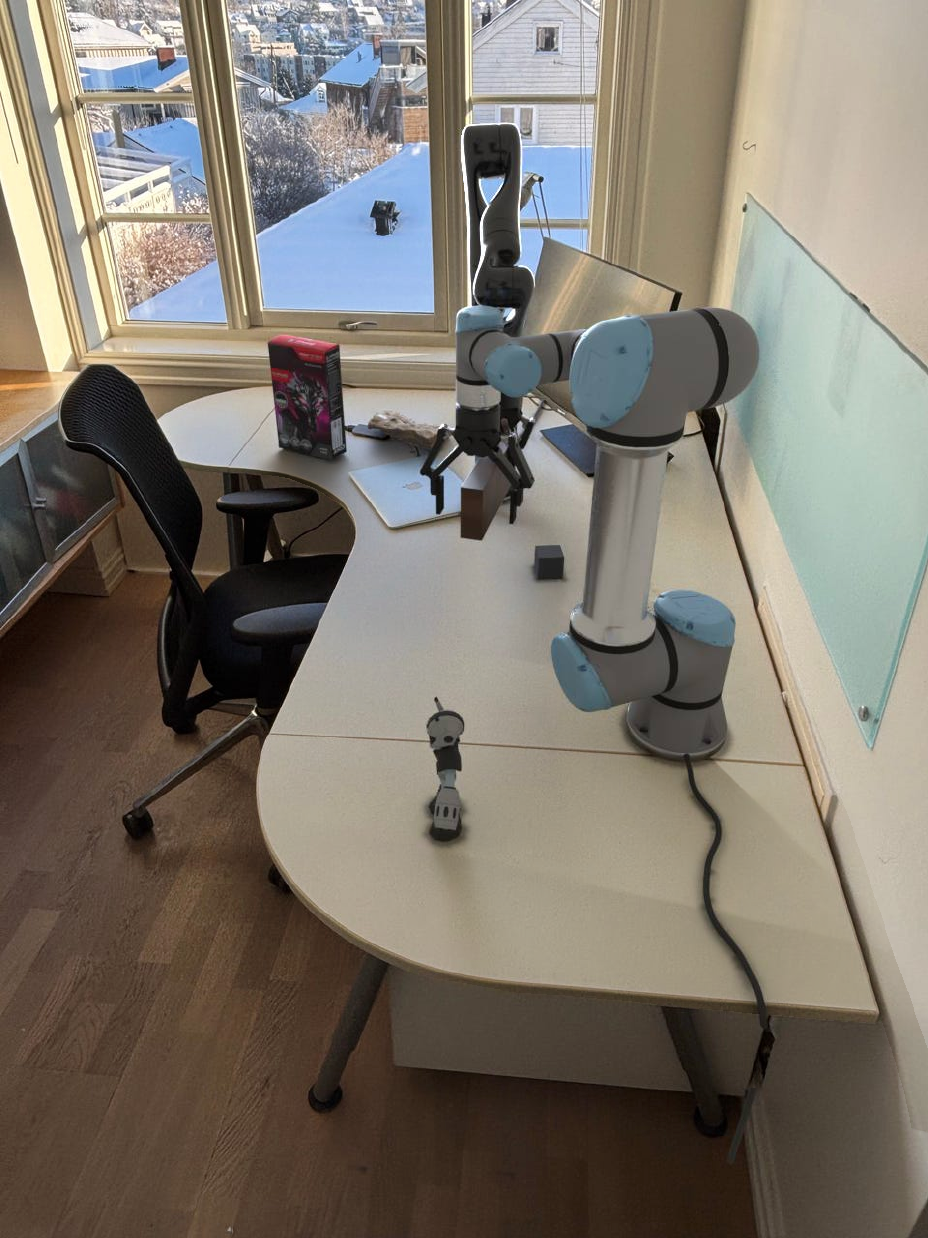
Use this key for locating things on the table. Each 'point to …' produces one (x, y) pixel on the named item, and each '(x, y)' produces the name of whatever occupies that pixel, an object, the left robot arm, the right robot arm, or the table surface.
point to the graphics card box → (308, 395)
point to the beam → (482, 496)
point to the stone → (404, 429)
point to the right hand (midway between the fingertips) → (476, 516)
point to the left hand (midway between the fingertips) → (498, 465)
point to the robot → (446, 772)
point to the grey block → (549, 562)
